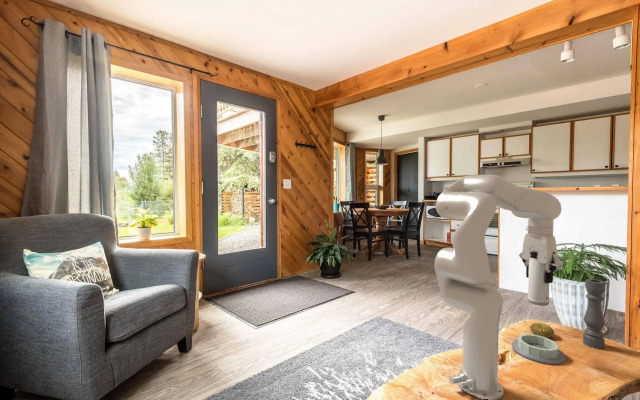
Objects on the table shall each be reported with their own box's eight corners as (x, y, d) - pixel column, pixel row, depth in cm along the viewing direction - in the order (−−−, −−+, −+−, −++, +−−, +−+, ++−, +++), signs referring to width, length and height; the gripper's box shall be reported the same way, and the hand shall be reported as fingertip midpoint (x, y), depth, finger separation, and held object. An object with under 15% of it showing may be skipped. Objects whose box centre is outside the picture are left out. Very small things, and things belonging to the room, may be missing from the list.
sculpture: (529, 325, 126) (531, 319, 132) (528, 335, 126) (531, 328, 132) (553, 331, 121) (554, 325, 127) (553, 341, 121) (554, 334, 127)
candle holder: (604, 344, 118) (606, 280, 117) (604, 350, 113) (606, 284, 113) (583, 339, 122) (584, 277, 121) (582, 345, 118) (584, 281, 117)
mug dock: (542, 368, 103) (542, 356, 102) (501, 344, 118) (502, 334, 118) (576, 360, 107) (577, 349, 107) (533, 339, 122) (533, 329, 122)
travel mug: (553, 306, 108) (555, 250, 107) (532, 305, 109) (534, 250, 109) (544, 300, 114) (545, 247, 114) (524, 299, 116) (526, 246, 115)
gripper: (511, 228, 118) (510, 274, 119) (556, 234, 102) (555, 288, 102) (526, 228, 120) (525, 273, 121) (573, 234, 104) (571, 286, 104)
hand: (539, 279), depth 112 cm, fingers closed on travel mug, 6 cm apart
